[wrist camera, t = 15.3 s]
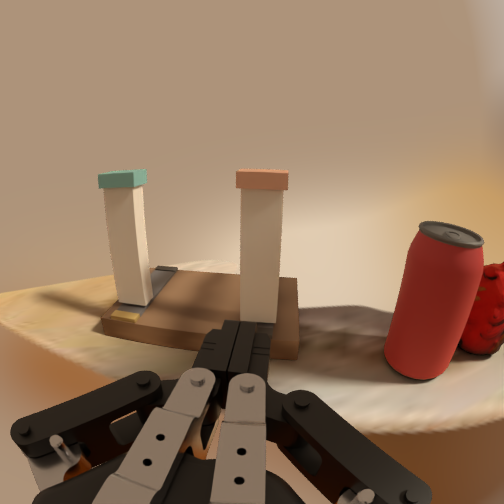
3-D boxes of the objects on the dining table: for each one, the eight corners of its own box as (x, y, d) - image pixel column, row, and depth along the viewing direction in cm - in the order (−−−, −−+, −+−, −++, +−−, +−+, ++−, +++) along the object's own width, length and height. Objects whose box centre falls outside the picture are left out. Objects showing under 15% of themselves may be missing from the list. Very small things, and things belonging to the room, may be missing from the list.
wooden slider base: (295, 293, 35) (297, 274, 34) (296, 359, 24) (299, 337, 23) (151, 282, 37) (149, 264, 36) (105, 335, 26) (99, 314, 25)
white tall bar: (280, 310, 26) (288, 170, 22) (279, 325, 24) (288, 173, 20) (240, 307, 27) (241, 168, 23) (236, 322, 25) (236, 171, 20)
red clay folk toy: (466, 318, 28) (496, 193, 23) (508, 344, 22) (549, 211, 17) (433, 337, 25) (469, 190, 20) (482, 372, 19) (536, 212, 14)
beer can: (376, 374, 21) (413, 233, 17) (386, 333, 27) (412, 214, 23) (446, 389, 18) (499, 252, 14) (445, 345, 24) (480, 229, 20)
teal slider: (157, 295, 28) (146, 169, 24) (147, 307, 26) (133, 172, 22) (126, 292, 29) (112, 171, 24) (115, 303, 26) (98, 174, 22)
